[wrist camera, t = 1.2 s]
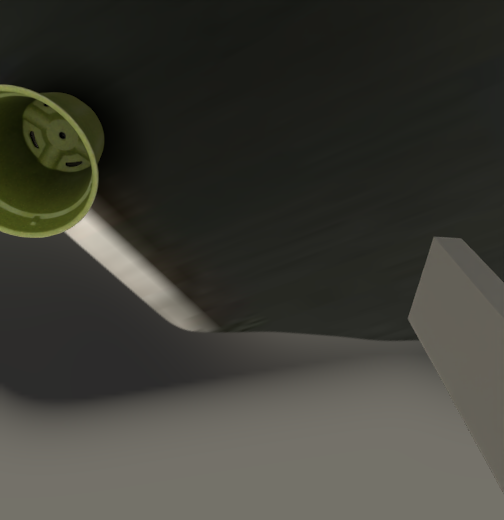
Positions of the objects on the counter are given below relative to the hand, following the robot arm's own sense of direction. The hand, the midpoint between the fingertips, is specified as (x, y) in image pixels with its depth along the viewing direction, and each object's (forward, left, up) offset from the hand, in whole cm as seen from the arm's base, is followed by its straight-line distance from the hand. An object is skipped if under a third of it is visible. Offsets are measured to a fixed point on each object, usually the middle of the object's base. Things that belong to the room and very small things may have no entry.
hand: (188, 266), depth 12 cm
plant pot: (+4, -11, -25) cm, 28 cm away
